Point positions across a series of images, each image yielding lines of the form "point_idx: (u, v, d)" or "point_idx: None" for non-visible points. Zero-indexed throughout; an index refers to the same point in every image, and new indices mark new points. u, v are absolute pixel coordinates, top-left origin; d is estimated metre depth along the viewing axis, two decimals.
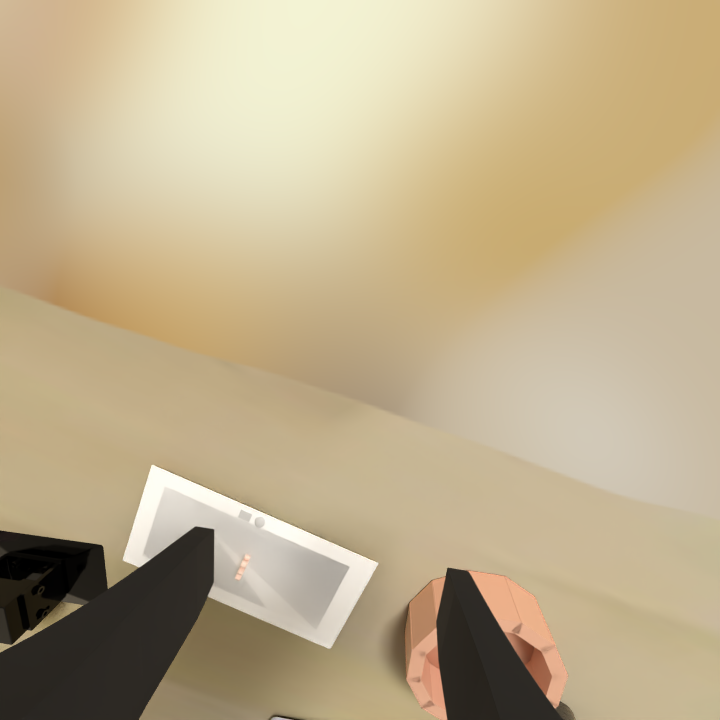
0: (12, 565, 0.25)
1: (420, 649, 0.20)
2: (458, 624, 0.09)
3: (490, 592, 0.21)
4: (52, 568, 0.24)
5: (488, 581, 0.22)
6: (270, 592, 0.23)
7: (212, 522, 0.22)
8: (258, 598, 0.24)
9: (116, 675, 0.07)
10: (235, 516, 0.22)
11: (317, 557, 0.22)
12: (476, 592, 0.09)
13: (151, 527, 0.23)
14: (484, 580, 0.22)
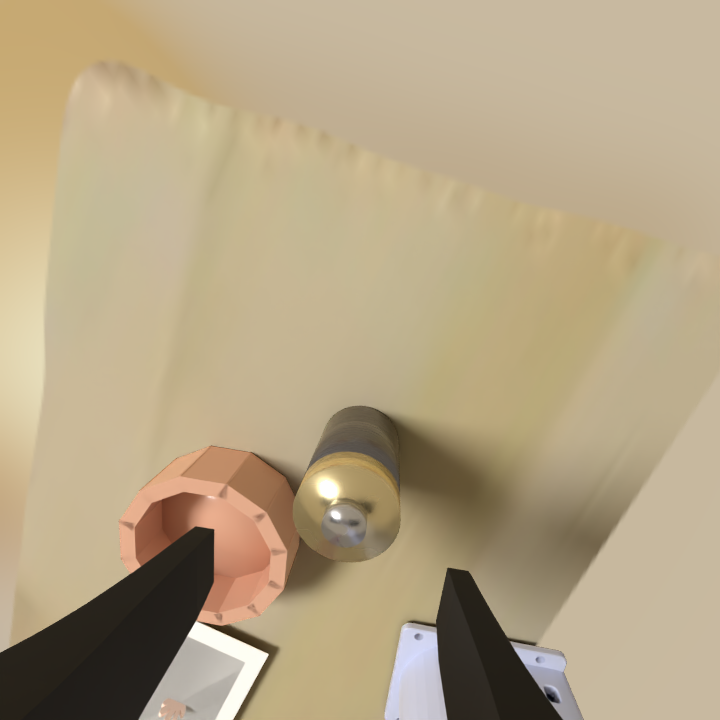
0: None
1: None
2: (458, 624, 0.09)
3: None
4: None
5: None
6: (208, 690, 0.24)
7: (140, 717, 0.25)
8: (217, 701, 0.24)
9: (116, 675, 0.07)
10: None
11: None
12: (476, 592, 0.09)
13: None
14: None
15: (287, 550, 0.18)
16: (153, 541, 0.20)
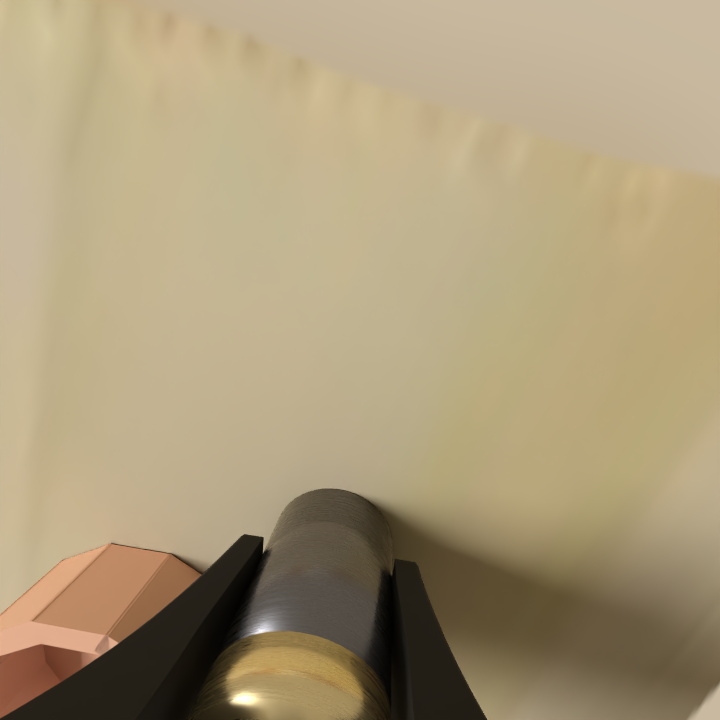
0: None
1: None
2: (396, 613, 0.09)
3: None
4: None
5: None
6: None
7: None
8: None
9: (188, 689, 0.07)
10: None
11: None
12: (418, 582, 0.09)
13: None
14: None
15: None
16: (25, 688, 0.13)
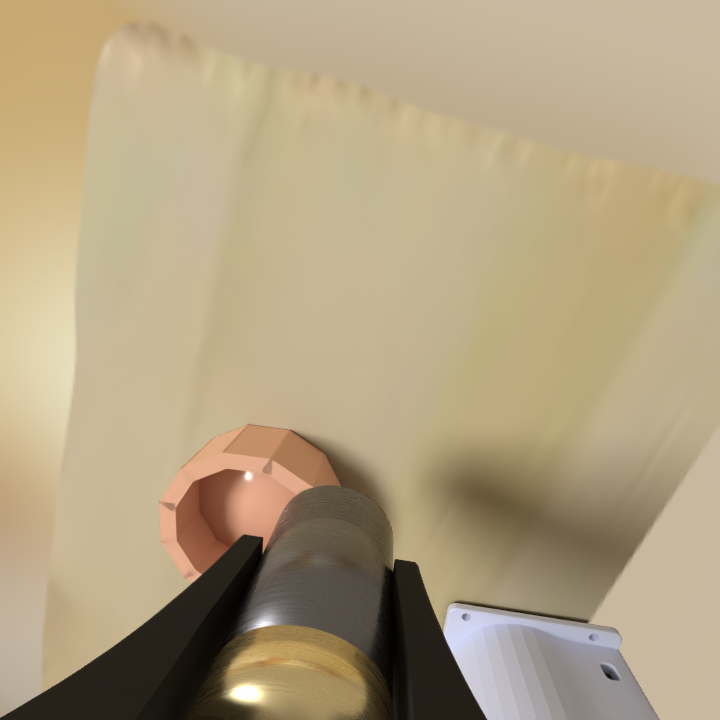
0: None
1: None
2: (396, 613, 0.09)
3: None
4: None
5: None
6: None
7: None
8: None
9: (187, 689, 0.07)
10: None
11: None
12: (418, 583, 0.09)
13: None
14: None
15: None
16: (191, 524, 0.19)
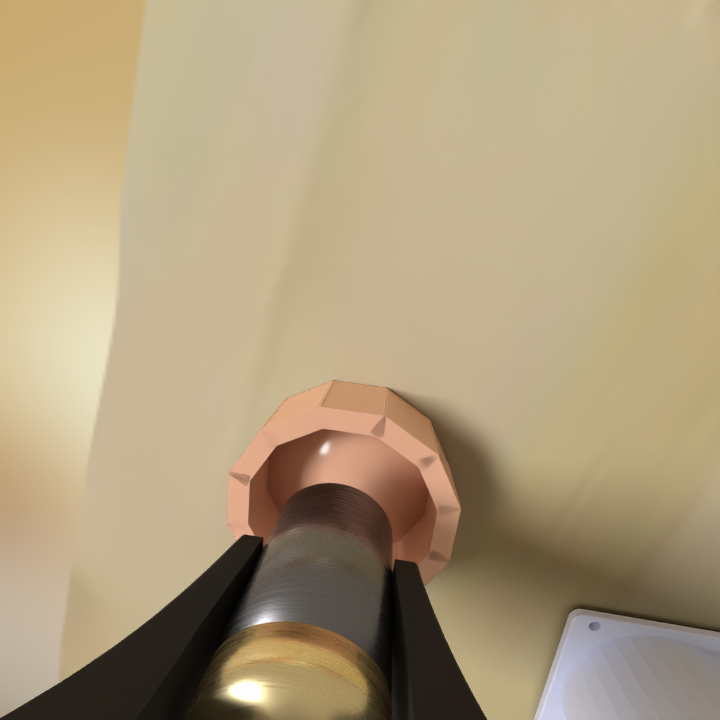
0: None
1: None
2: (396, 613, 0.09)
3: None
4: None
5: None
6: None
7: None
8: None
9: (188, 689, 0.07)
10: None
11: None
12: (418, 583, 0.09)
13: None
14: None
15: (459, 508, 0.13)
16: (260, 504, 0.15)
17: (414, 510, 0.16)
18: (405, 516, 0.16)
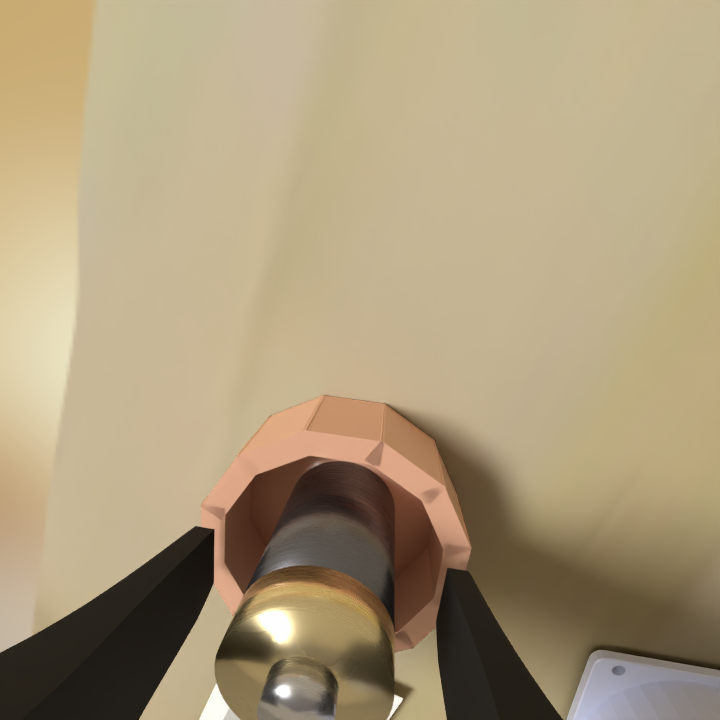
0: None
1: None
2: (458, 624, 0.09)
3: None
4: None
5: None
6: None
7: None
8: None
9: (116, 675, 0.07)
10: None
11: None
12: (476, 592, 0.09)
13: None
14: None
15: (469, 547, 0.11)
16: (241, 536, 0.13)
17: (416, 542, 0.14)
18: (406, 548, 0.14)
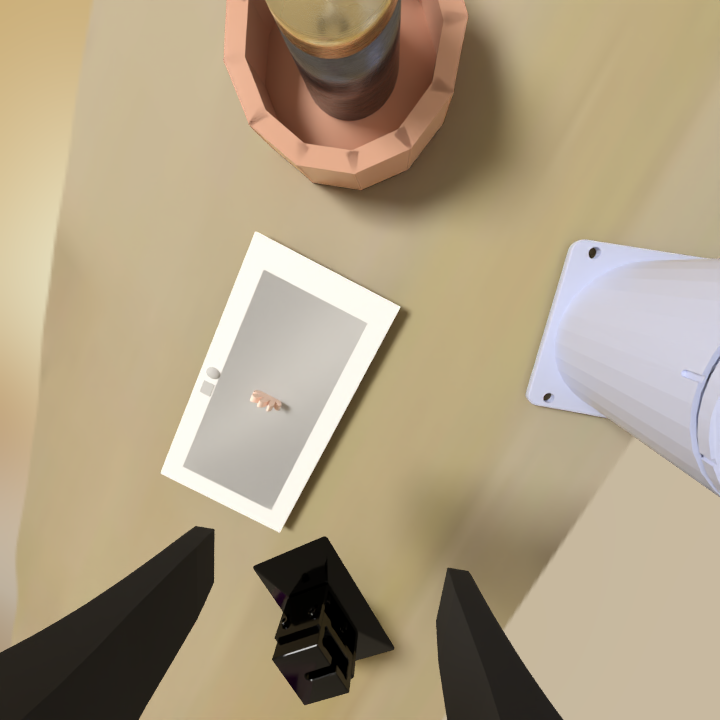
0: None
1: (294, 151, 0.14)
2: (458, 624, 0.09)
3: None
4: (285, 607, 0.22)
5: None
6: (312, 375, 0.19)
7: (219, 425, 0.20)
8: (322, 391, 0.19)
9: (116, 675, 0.07)
10: (210, 398, 0.20)
11: (255, 309, 0.18)
12: (476, 592, 0.09)
13: (233, 491, 0.21)
14: None
15: (466, 18, 0.13)
16: (258, 80, 0.15)
17: (416, 103, 0.15)
18: (407, 112, 0.15)
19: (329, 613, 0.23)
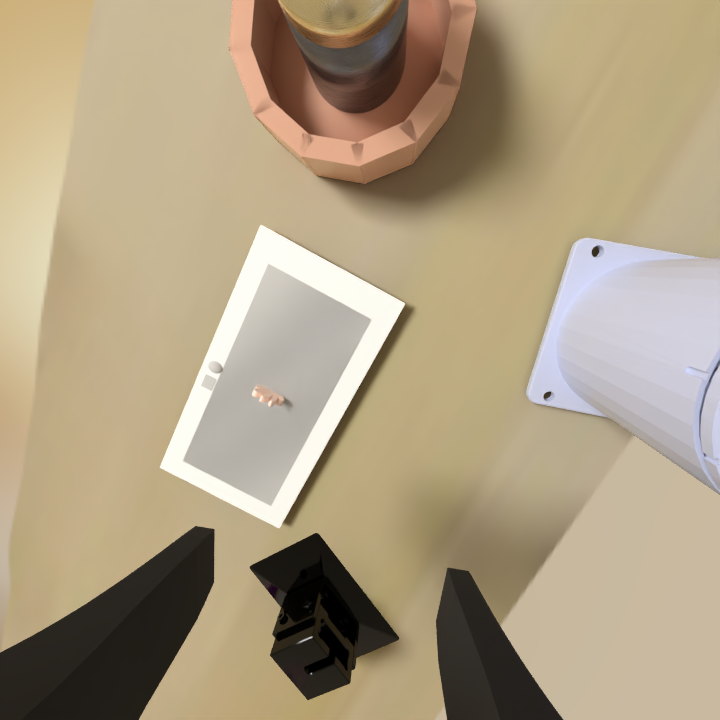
0: None
1: (298, 142, 0.14)
2: (458, 624, 0.09)
3: None
4: None
5: None
6: (314, 371, 0.19)
7: (220, 420, 0.20)
8: (325, 387, 0.19)
9: (116, 675, 0.07)
10: (212, 393, 0.20)
11: (258, 304, 0.18)
12: (476, 593, 0.09)
13: (233, 486, 0.21)
14: None
15: (475, 11, 0.12)
16: (263, 70, 0.15)
17: (422, 96, 0.15)
18: (412, 105, 0.15)
19: (328, 607, 0.22)
